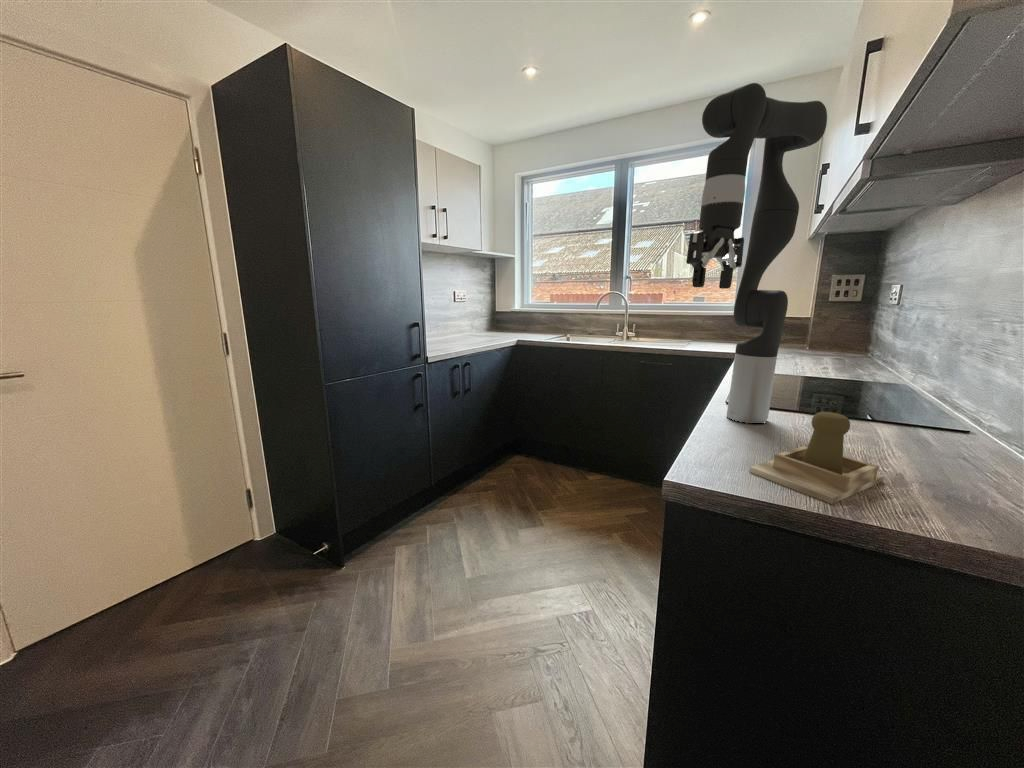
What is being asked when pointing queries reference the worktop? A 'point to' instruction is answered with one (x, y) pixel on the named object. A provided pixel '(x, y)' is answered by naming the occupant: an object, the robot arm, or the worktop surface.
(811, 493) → the stand
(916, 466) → the worktop surface
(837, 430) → the cork
